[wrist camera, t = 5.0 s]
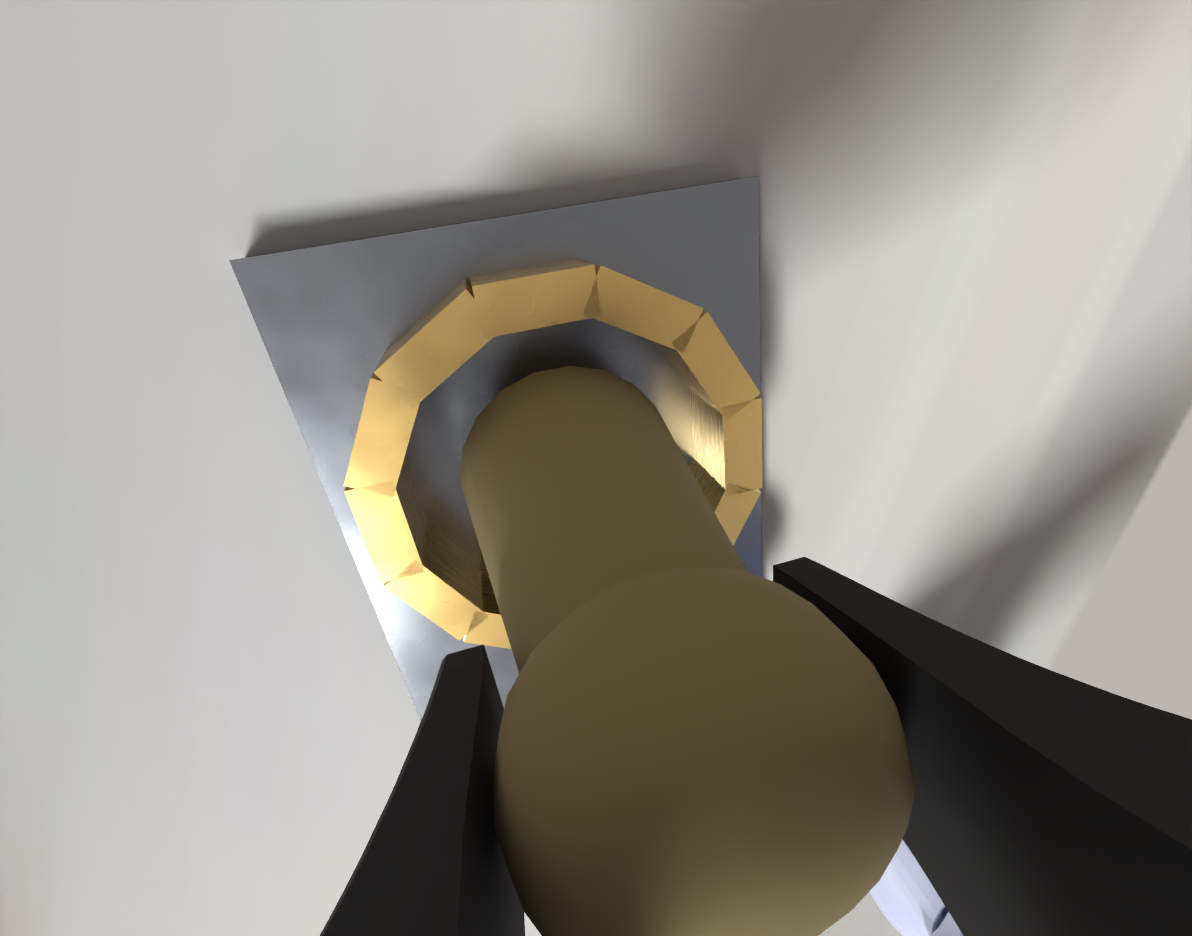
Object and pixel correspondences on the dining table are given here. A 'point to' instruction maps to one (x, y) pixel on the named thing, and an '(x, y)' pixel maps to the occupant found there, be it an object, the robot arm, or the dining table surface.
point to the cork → (665, 690)
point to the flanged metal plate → (508, 377)
